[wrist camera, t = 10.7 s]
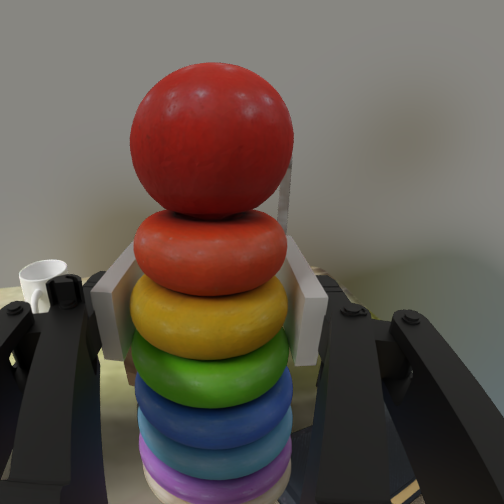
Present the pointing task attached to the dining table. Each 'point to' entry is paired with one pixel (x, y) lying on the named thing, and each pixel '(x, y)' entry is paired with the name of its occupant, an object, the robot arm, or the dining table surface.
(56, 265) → the cup
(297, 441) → the dark navy book
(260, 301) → the stacking toy
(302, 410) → the dining table surface
